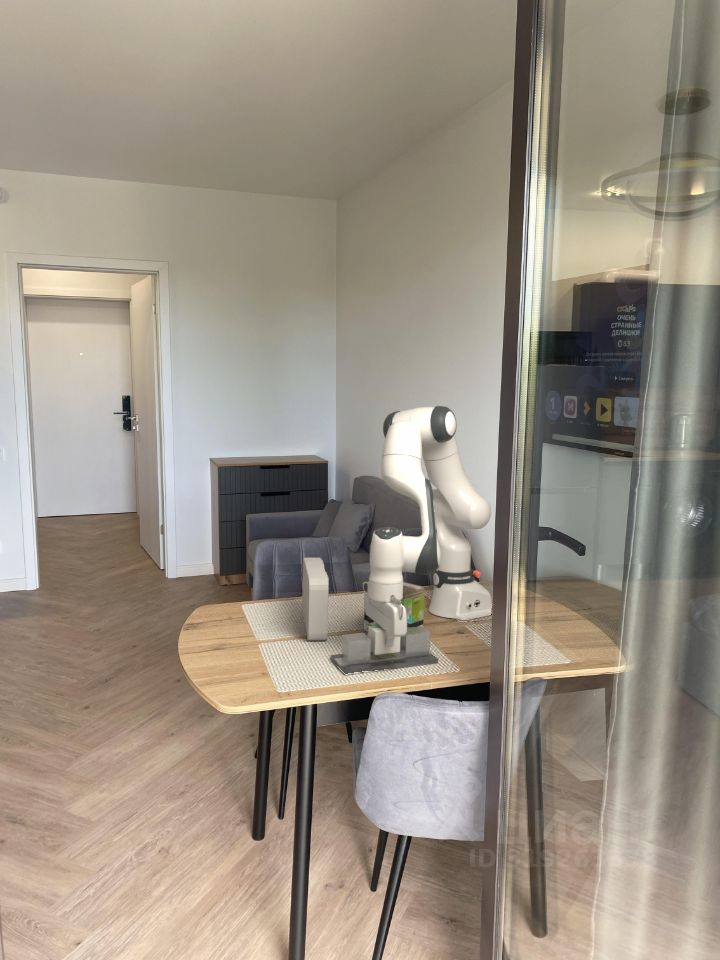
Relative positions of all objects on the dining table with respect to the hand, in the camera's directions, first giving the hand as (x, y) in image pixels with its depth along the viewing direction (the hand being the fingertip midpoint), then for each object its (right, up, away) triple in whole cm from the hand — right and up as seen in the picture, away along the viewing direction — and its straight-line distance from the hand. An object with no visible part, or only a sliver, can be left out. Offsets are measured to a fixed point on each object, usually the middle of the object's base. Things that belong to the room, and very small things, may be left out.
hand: (384, 642), depth 192 cm
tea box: (+3, -3, +22) cm, 23 cm away
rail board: (0, -5, +1) cm, 5 cm away
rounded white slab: (-20, -1, +27) cm, 34 cm away
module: (0, -2, 0) cm, 2 cm away
